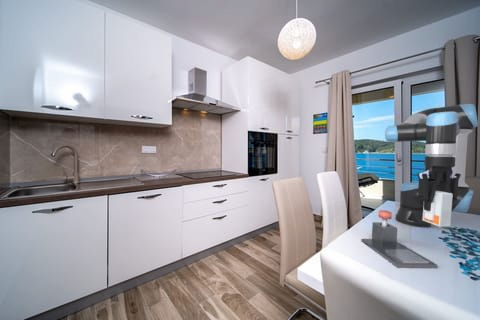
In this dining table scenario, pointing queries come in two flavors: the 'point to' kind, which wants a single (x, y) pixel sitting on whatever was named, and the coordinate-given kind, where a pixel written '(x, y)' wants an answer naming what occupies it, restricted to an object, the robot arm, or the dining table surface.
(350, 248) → the dining table surface
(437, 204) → the skincare box
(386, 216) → the plunger
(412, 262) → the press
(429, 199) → the robot arm
